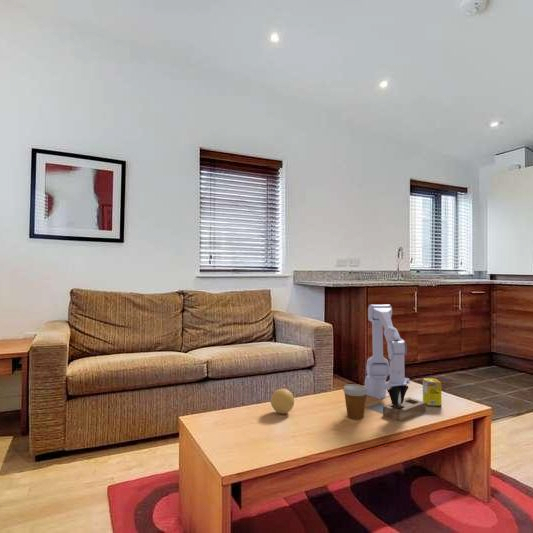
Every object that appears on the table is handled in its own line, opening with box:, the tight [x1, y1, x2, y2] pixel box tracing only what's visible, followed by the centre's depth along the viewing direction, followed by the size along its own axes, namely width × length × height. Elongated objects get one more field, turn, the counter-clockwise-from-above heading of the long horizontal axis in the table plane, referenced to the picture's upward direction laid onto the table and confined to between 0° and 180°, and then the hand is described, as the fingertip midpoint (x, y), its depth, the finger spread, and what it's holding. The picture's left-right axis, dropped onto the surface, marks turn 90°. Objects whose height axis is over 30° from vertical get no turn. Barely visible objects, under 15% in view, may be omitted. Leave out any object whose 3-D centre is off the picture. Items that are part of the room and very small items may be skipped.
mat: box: [364, 402, 386, 415], centre depth 161 cm, size 9×10×1 cm
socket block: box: [382, 397, 427, 422], centre depth 155 cm, size 8×18×4 cm, turn 126°
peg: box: [393, 388, 401, 409], centre depth 153 cm, size 3×3×9 cm
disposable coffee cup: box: [343, 383, 367, 420], centre depth 152 cm, size 10×10×12 cm
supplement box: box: [422, 378, 442, 408], centre depth 166 cm, size 6×6×11 cm
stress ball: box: [270, 388, 295, 415], centre depth 157 cm, size 10×10×10 cm
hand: (397, 403), depth 152 cm, fingers closed on peg, 3 cm apart
